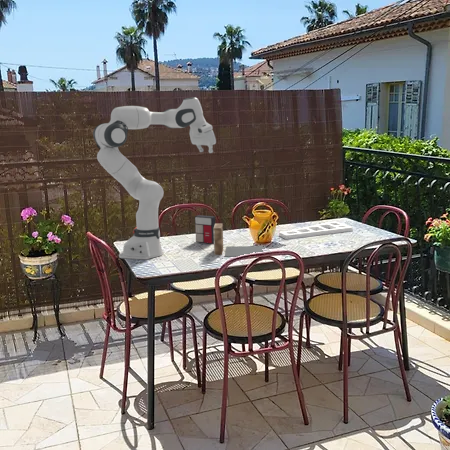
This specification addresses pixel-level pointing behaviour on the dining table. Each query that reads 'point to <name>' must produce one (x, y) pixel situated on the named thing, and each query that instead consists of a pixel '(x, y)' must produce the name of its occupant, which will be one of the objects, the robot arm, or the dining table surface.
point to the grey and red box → (204, 229)
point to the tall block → (218, 238)
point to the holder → (309, 231)
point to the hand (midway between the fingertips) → (206, 152)
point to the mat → (242, 250)
